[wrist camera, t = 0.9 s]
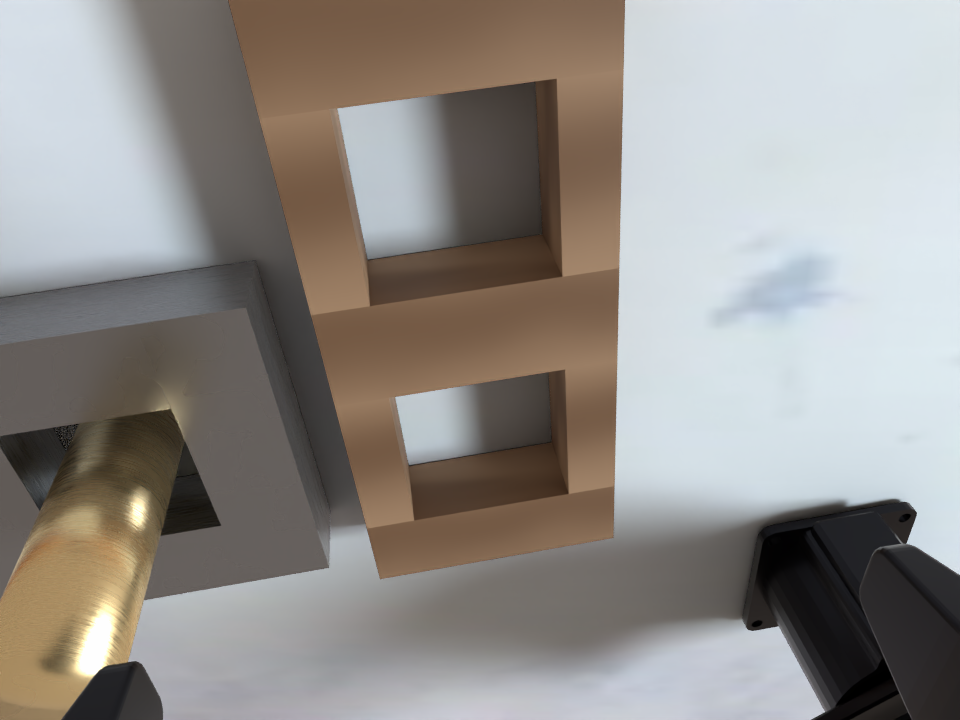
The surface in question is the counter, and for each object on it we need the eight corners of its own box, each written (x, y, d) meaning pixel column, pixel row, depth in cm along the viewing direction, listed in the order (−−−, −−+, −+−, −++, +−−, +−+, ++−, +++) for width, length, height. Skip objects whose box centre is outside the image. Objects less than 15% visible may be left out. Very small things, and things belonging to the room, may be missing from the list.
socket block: (330, 511, 27) (329, 567, 25) (39, 560, 26) (13, 622, 24) (255, 260, 21) (245, 307, 19) (-124, 316, 20) (-176, 370, 18)
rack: (593, 486, 28) (613, 538, 26) (377, 523, 27) (380, 579, 25) (593, -73, 17) (626, -59, 15) (239, -29, 17) (225, -10, 15)
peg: (199, 454, 24) (137, 722, 17) (104, 469, 24) (0, 748, 17) (168, 381, 23) (84, 645, 15) (65, 397, 22) (-69, 672, 15)
